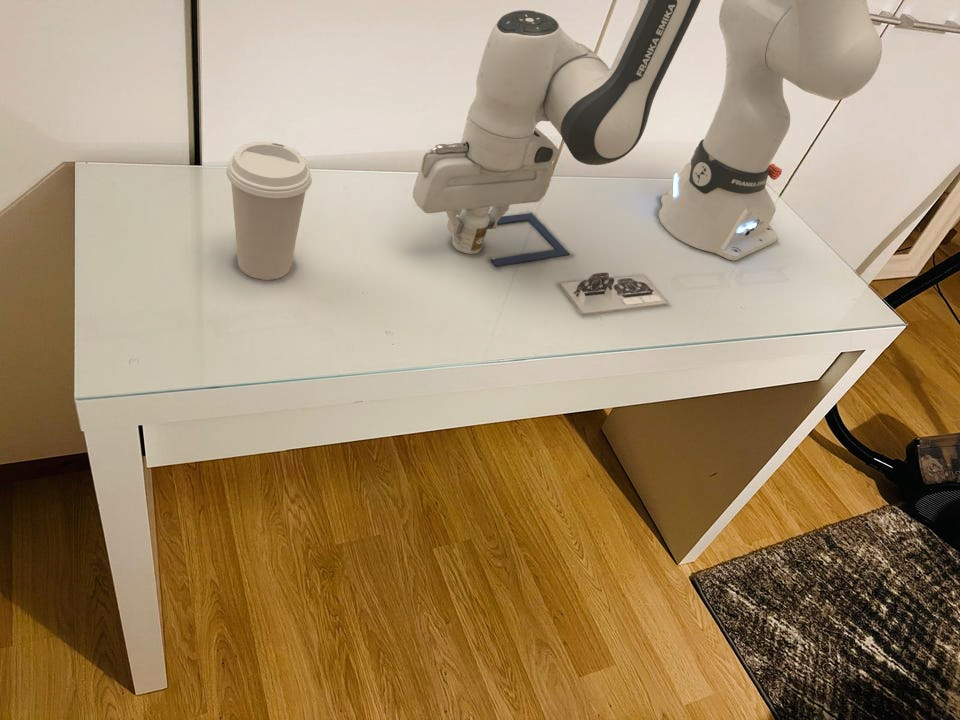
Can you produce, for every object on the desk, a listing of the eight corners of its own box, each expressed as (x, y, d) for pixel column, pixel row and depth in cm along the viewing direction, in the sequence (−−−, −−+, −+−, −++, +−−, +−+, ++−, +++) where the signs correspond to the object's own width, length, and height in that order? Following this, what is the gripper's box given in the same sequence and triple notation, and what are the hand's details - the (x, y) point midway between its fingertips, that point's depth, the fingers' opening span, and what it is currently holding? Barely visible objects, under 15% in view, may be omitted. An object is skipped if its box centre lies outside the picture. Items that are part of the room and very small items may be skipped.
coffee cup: (317, 262, 99) (329, 160, 89) (273, 298, 92) (280, 191, 82) (256, 233, 101) (261, 129, 91) (208, 265, 94) (208, 157, 84)
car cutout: (582, 315, 105) (593, 290, 102) (559, 285, 109) (569, 260, 106) (666, 305, 111) (678, 281, 108) (642, 277, 115) (653, 253, 112)
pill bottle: (477, 258, 109) (491, 212, 104) (448, 249, 109) (460, 203, 103) (483, 242, 112) (496, 197, 107) (455, 233, 112) (467, 188, 107)
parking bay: (530, 214, 121) (531, 212, 121) (569, 255, 115) (570, 253, 115) (458, 223, 114) (459, 221, 114) (495, 267, 108) (496, 265, 108)
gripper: (438, 158, 92) (417, 250, 101) (568, 150, 103) (539, 234, 112) (415, 132, 96) (397, 223, 105) (543, 127, 106) (517, 210, 115)
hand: (471, 229), depth 108 cm, fingers closed on pill bottle, 4 cm apart
